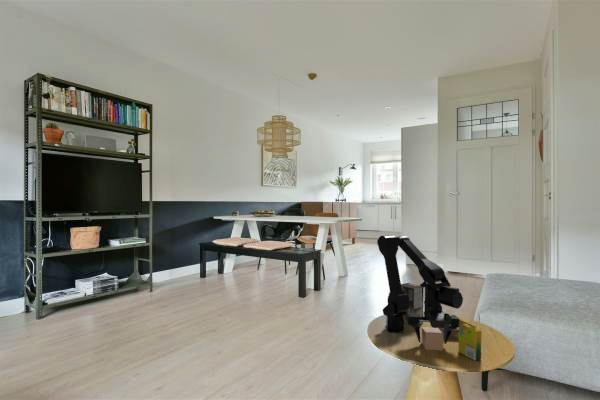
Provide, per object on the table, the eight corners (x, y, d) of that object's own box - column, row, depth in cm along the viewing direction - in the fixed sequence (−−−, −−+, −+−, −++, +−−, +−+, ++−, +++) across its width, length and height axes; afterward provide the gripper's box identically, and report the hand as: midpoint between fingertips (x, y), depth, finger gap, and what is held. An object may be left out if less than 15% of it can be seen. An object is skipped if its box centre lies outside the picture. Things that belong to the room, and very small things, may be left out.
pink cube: (425, 349, 123) (426, 333, 123) (421, 342, 129) (421, 327, 129) (443, 350, 123) (443, 334, 123) (437, 343, 129) (438, 327, 129)
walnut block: (443, 339, 134) (443, 329, 133) (435, 330, 142) (435, 320, 142) (466, 340, 133) (466, 330, 133) (457, 331, 142) (457, 321, 142)
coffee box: (423, 323, 150) (424, 286, 150) (413, 325, 146) (414, 288, 146) (407, 317, 157) (408, 282, 157) (397, 319, 154) (398, 283, 154)
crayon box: (481, 359, 116) (482, 325, 116) (475, 361, 115) (475, 326, 115) (464, 350, 123) (464, 318, 123) (457, 351, 122) (458, 319, 122)
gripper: (412, 306, 119) (411, 350, 119) (467, 309, 117) (466, 354, 117) (405, 297, 130) (404, 338, 130) (455, 299, 128) (455, 340, 128)
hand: (432, 342), depth 126 cm, fingers open, 9 cm apart
